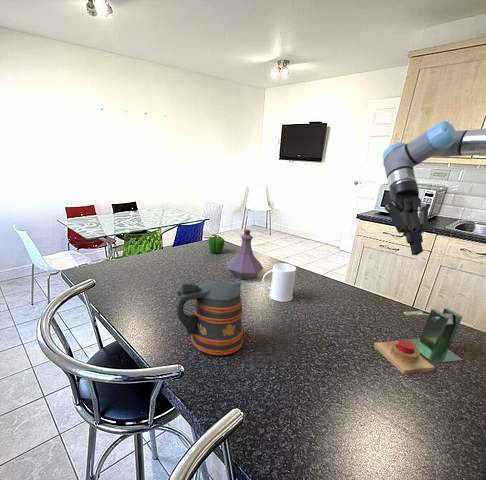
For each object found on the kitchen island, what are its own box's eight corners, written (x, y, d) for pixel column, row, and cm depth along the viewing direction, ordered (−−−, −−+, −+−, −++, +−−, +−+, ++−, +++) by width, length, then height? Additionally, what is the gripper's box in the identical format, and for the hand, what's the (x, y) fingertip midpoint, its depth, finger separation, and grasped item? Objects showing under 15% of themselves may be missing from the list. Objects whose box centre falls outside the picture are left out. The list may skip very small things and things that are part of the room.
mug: (261, 301, 106) (264, 270, 101) (259, 290, 114) (262, 261, 109) (294, 302, 105) (299, 272, 100) (290, 292, 113) (294, 263, 108)
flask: (259, 285, 118) (264, 237, 110) (220, 279, 123) (222, 233, 115) (265, 270, 132) (270, 227, 124) (230, 265, 137) (232, 223, 129)
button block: (399, 346, 83) (403, 335, 81) (432, 374, 73) (437, 361, 71) (372, 349, 82) (376, 337, 80) (402, 377, 72) (406, 364, 70)
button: (405, 345, 78) (407, 339, 77) (416, 353, 75) (418, 348, 74) (393, 346, 77) (395, 340, 77) (403, 354, 74) (405, 349, 73)
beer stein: (191, 369, 72) (191, 298, 64) (169, 338, 84) (166, 275, 76) (253, 347, 81) (259, 282, 73) (224, 321, 93) (227, 263, 85)
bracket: (402, 342, 85) (416, 304, 80) (429, 340, 86) (444, 302, 81) (431, 366, 76) (448, 324, 70) (461, 363, 77) (480, 322, 72)
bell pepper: (224, 250, 158) (225, 232, 154) (223, 255, 150) (224, 236, 146) (209, 249, 159) (209, 231, 155) (207, 254, 151) (207, 235, 147)
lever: (401, 318, 87) (401, 310, 87) (419, 317, 87) (419, 309, 87) (439, 324, 75) (439, 315, 75) (459, 323, 75) (459, 314, 75)
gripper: (416, 194, 97) (431, 259, 88) (376, 193, 97) (387, 257, 89) (431, 179, 90) (450, 248, 81) (388, 178, 90) (402, 246, 82)
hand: (417, 253), depth 85 cm, fingers closed
